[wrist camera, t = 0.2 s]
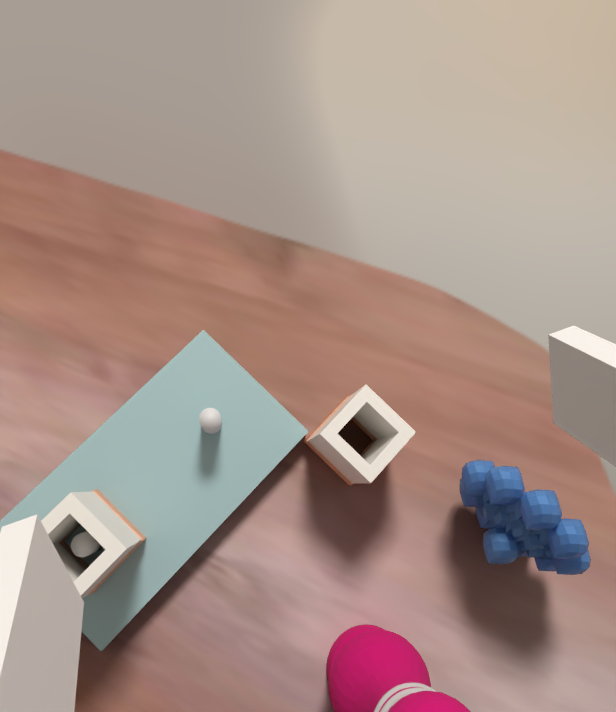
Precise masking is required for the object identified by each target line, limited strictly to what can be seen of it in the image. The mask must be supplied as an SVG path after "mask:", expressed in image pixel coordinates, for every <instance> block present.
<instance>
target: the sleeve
mask: <svg viewBox="0 0 616 712" xmlns="http://www.w3.org/2000/svg"><path fill="white" fill-rule="evenodd" d="M350 419H351V420H352V421H353V422H354V423H355V424H356V425H357V426H358V427H359V428H360V429H361V430H362V431H363V432H365V433H366V434H367V435H368V436H369V437H370V438H371V439H372V440H373V441H372V442H371V443H370V444H369V445H368V446H367V448H366V449H365V450H364V451H363V452H362V453H361V454H360V455H359V454H358V453H357V452H356V451H355V450H354V449H353V448H352V447H351V446H350V445H349V444H348V443H347V442H346V441H345V440H344V439H343V438H342V437H341V436H340V435H338V434H337V433H338V432H339V431H340V430H341V429H342V428H343V427H344V426H345V425H346V424H347V423H348V421H349V420H350ZM415 433H416V432H415V431H414V430H413V429H412V428H411V427H410V426H409V425H408V424H407V423H406V422H405V421H404V420H403V419H402V418H401V417H400V416H399V415H398V414H397V413H395V412H394V411H393V410H392V409H391V408H390V407H389V406H388V405H387V404H386V403H385V402H384V401H383V400H382V399H381V398H380V397H379V396H378V395H377V394H376V393H374V392H373V391H372V390H371V389H370V388H369V387H368V386H367V385H364V386H363V387H362V388H360V389H359V390H358V391H356V392H355V393H354V394H352V395H351V396H350V397H349V396H347V397H346V398H345V399H344V400H343V401H342V402H341V403H340V404H339V405H338V406H337V407H336V408H335V409H334V411H333V412H332V413H331V414H330V415H329V416H328V417H327V418H326V419H325V420H324V421H323V422H322V423H321V424H320V425H319V426H318V428H317V429H316V430H315V431H314V432H313V433H312V434H311V435H310V436H309V437H308V438H307V439H306V440H305V441H304V442H305V443H306V444H307V445H308V446H309V447H310V448H311V449H312V450H313V451H314V452H315V453H316V454H317V455H318V456H319V457H320V458H321V459H322V460H323V461H324V462H325V463H326V464H327V465H328V466H329V467H330V468H331V469H332V470H334V471H335V472H336V473H337V474H338V475H339V476H340V477H341V478H342V479H343V480H344V481H345V482H346V483H347V484H348V485H353V484H354V483H372V481H373V480H374V479H375V478H376V477H377V476H378V475H379V473H380V472H381V471H382V470H383V469H384V468H385V467H386V466H387V464H388V463H389V462H390V461H391V460H392V459H393V458H394V456H395V455H396V454H397V453H398V452H399V451H400V450H401V448H402V447H403V446H404V445H405V444H406V443H407V442H408V440H409V439H410V438H411V437H412V436H413V435H414V434H415Z"/></svg>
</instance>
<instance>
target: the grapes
mask: <svg viewBox="0 0 616 712" xmlns="http://www.w3.org/2000/svg"><path fill="white" fill-rule="evenodd" d="M524 489H525V488H524V484H523V480H522V476H521V473H520V471H519V468H518V467H512V466H500V467H496V468H495V466H494V463H493V462H492V461H484V460H476V461H472V462H469V463H466V464H465V466H464V467H463V468H462V478H461V479H460V494H461V498H462V502H463V505H464V506H469V507H476V513H477V518H478V521H479V524H480V527H481V528H490V529H488V530H487V531H486V532H485V533H484V535H483V547H484V551H485V555H486V558H487V561H488V563H491V564H508V563H512V562H514V561H515V560H516V559H517V558H518V557H519V556H527V557H534V558H535V562H536V565H537V568H538V570H539V571H556V572H557V574H565V575H575V574H582V573H583V572H584V571H586V570H587V569H588V568H589V566H590V560H591V559H590V555H589V551H588V545H589V541H588V538H587V534H586V531H585V528H584V526H583V524H582V522H581V520H578V519H561V516H562V512H561V508H560V505H559V501H558V499H557V496H556V494H555V492H554V491H550V490H533V491H529V492H525V491H524Z"/></svg>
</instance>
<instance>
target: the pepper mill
mask: <svg viewBox="0 0 616 712" xmlns="http://www.w3.org/2000/svg"><path fill="white" fill-rule="evenodd" d="M327 677H328V682H329V695H330V700H331V703H332V706H333V709H334V711H335V712H470V711H469V710H468V709H467V708H466V707H465V706H464V705H463V704H462V703H460V702H459V701H458V700H456V699H455V698H452V697H450V696H448V695H446V694H444V693H441V692H437V691H435V690H434V689H433V688H431V684H430V678H429V674H428V670H427V668H426V665H425V663H424V661H423V659H422V658H421V656H420V654H419V653H418V652H417V650H416V649H415V648H414V647H413V645H411V644H410V643H409V642H408V641H407V640H406V639H405V638H403V637H402V636H400V635H398V634H396V633H394V632H390V631H386V630H384V629H382V628H380V627H377V626H374V625H359V626H355V627H352V628H350V629H348V630H347V631H345V632H344V633H343V634H341V635H340V636H339V637H338V639H337V640H336V641H335V642H334V644H333V646H332V648H331V650H330V652H329V656H328V660H327Z"/></svg>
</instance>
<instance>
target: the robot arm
mask: <svg viewBox="0 0 616 712" xmlns="http://www.w3.org/2000/svg"><path fill="white" fill-rule="evenodd" d="M549 352H550V371H551V389H552V407H553V423H554V424H555V425H557V426H558V427H560V428H561V429H562V430H564V431H565V432H567V433H568V434H570V435H571V436H572V437H574V438H575V439H577V440H578V441H580V442H581V443H582V444H584V445H585V446H587V447H588V448H590V449H591V450H592V451H594V452H595V453H597V454H598V455H600V456H601V457H603V458H604V459H605V460H607V461H608V462H610V463H611V464H613V465H614V466H615V467H616V344H614V343H611V342H609V341H607V340H605V339H602V338H600V337H598V336H596V335H593V334H591V333H589V332H587V331H585V330H582V329H580V328H578V327H576V326H572V327H569V328H566V329H563V330H560V331H558V332H554V333H552V334H549ZM83 608H84V601H83V599H82V597H81V596H80V594H79V592H78V590H77V588H76V586H75V584H74V582H73V581H72V579H71V577H70V575H69V573H68V571H67V569H66V567H65V566H64V564H63V562H62V560H61V558H60V556H59V554H58V552H57V550H56V549H55V547H54V545H53V543H52V541H51V539H50V537H49V535H48V534H47V532H46V530H45V528H44V526H43V524H42V522H41V520H40V519H39V517H38V515H34V516H31V517H28V518H25V519H23V520H20V521H17V522H14V523H11V524H8V525H6V526H3V527H2V529H1V532H0V712H74V709H75V698H76V687H77V676H78V664H79V653H80V642H81V630H82V619H83Z"/></svg>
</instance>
